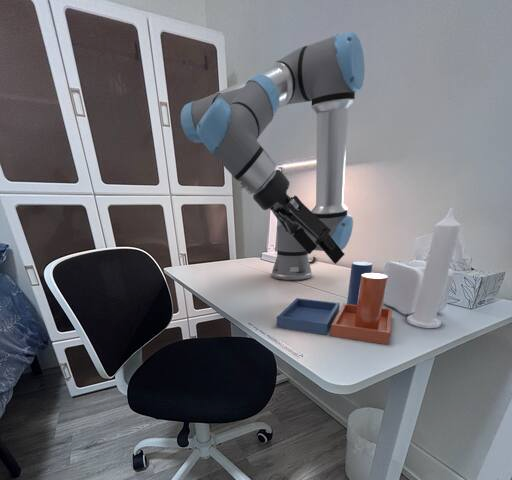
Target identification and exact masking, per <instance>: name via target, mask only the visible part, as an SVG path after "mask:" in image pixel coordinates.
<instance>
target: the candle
mask: <svg viewBox="0 0 512 480" xmlns="http://www.w3.org/2000/svg"><path fill="white" fill-rule="evenodd" d="M454 209H455V207H454V206H451V207H450V208H449V210H448V212H447V214H446V215H445V217H444V218H443V219H441V221H438V222H437V223H436V224H435V225H434V229H433V233H432V237H431V241H430V244H429V245H430V246H429V251H428V254H427V258H426V261H425V262H426V266H425V271H424V275H423V279H422V283H421V288H420V292H419V296H418V300H417V305H416V309H415V312H414V313H413V314H411V315H408V316H407V318H406V321H407V323H408V324H410V325H411V326H415V327H417V328H424V329H436V328H439V327H441V325H442V321H441V320H440V319H439V318H437V315H438V312H439V311H438V308H439V304H440V300H441V297H442V293H443V289H444V286H445V282H446V278H447V275H448V271H449V268H451V263H452V259H453V256H454V252H455V248H456V244H457V242H458V238H459V233H460V229H461V224H460V223H459V222H458V221H457V220H456V219H455V216H454V215H455V214H454V213H455V212H454V211H455V210H454Z"/></svg>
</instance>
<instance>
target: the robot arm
mask: <svg viewBox="0 0 512 480" xmlns="http://www.w3.org/2000/svg"><path fill="white" fill-rule="evenodd" d="M362 46H363V45H362V41H361V40H360V38H359V36H358V34H356V33H355V32H352V31H349V32H344V33H341V34H338V33H337V34H336V35H334V36H331V37H328V38H325V39H323V40H319V41H317V42H314V43H311V44H308V45H304V46H301V47H299V48H297V49H295V50H293V51H292V52H290V53H288V54H287V55H285V56H283V57H282V58H280V59H278V60H276V61H275V62H272V63H271V64H269V65H268V66H267V67H266V69H265V71H264V72H262V73H259V74H255V75H254V76H252V77H250V78H248V79H245V80H243V81H240V82H238V83H236V84H233V85H230V86H228V87H226V88H224V89H222V90H219V91H218V92H214V93H213V94H211V95H209V96H205V97H204V98H201V99H200V98H199V99H197V100H192V101H191V102H188V103H186V104H184V105H183V107H182V109H181V112H180V125H181V127H182V130H183V134H184V135H185V136H186V137H187V139H188V140H190V142H193V143H195V144H196V143H199V144H200V143H202V144H203V145H204V146H205V147H206V148H207V149H208V151H209V153H210V154H212V155H213V156H214V157H215V159H216V160H217V161H218V162H219V163H220V164H221V165H222V166H223V167H224V168H225V169H226V170H227V172H229V174H230V175H231V176H232V177H233V178H234V179H235V180H236V181H237V182H238V183H240V184H239V185H238V187H239V189H240V190H243V189H244V190H245V191H246V192H247V194H248V195H251V196H252V199H253V200H254V202H255V203H256V204H257V205H258V206H259V207H260V208H261V209H262V210H264V211H268V210H270V211H271V212H272V214H273V215H274V217H275V218H276V219H277V226H276V231H277V233H276V235H277V237H276V252H277V253H276V258H275V260H274V264H273V268H272V271H271V276H272V278H274V279H276V280H281V281H303V280H308V279H310V278H311V277H312V268H311V264H313V263H315V262H316V258H315V257H314V256H313V260H309V255H311V254H312V252H313V251H317V252H324V253H325V254H326V256H327V257H328V258H329V259H330V260H331V262H332V263H333V264H334V265H336V264H337V263H339V262H340V260H341V259H342V258H343V257H344V256H345V252H344V251H343V250H344V249H345V248H346V247H347V245H348V244H349V241H350V239H351V236H352V233H353V228H354V220H353V219H354V218H353V216H352V215H350V214H348V207H347V206H346V205H345V204H344V192H345V176H346V175H345V173H346V159H347V158H346V156H347V155H346V154H347V137H348V119H349V109H350V108H351V106H352V105H353V104H354V102H355V98H356V97H355V96H356V93H357V92H359V91H360V90H361V89H362V87H363V85H364V80H365V56H364V49H363V47H362ZM307 102H311V109H312V110H313V111H314V113H315V114H316V162H315V163H316V166H315V167H316V169H315V171H316V173H315V175H316V176H315V177H316V180H315V206H314V207H313V208H312V209H311V210H310V209H309V208H308V207H307V206H306V205H305V204H304V203H303V202H302V200H300V198H299V197H298V196H297V195H294V196H291V197H290V195H288V193H287V191H288V189H289V188H290V183H291V182H290V181H289V179H288V178H287V176H285V174H284V173H283V172H282V170H281V169H277V163H276V162H275V161H274V160H273V159H272V158H271V156H270V154H268V152H267V151H266V150H265V148H263V147H262V146H261V144H260V142H259V141H258V138H259V137H260V136H261V134H262V133H263V132H264V131H265V130H266V128H267V127H268V126H269V124H270V123H271V122H272V121H273V120H274V116H275V115H276V113H277V111H278V110H279V108H280V109H281V108H284V107H285V106H287V105H292V104H300V103H301V104H302V103H307Z"/></svg>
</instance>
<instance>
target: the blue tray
mask: <svg viewBox="0 0 512 480" xmlns="http://www.w3.org/2000/svg"><path fill="white" fill-rule="evenodd" d="M339 311H340V302H333V301H323V300H316V299H315V300H314V299H307V298H300V297H299V298H298V297H296V298H295V299H294V300H293V301H292V302H291V303H289V305H288V306H287V307H286V308H285V309H283V310H282V311H281V312H280V313H279V315H277V316H276V328H279V329H285V330H290V331H291V330H293V331H297V332H304V333H310V334H311V333H312V334H317V335H323V336H324V335H325V336H327V334H328V333H329V331H330V330H331V326H332V323H333V322H334V320H335V318H336V316H337V314H338V313H339Z"/></svg>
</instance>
